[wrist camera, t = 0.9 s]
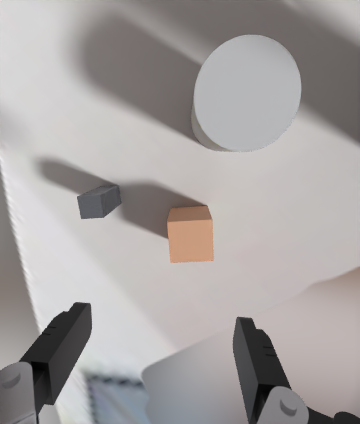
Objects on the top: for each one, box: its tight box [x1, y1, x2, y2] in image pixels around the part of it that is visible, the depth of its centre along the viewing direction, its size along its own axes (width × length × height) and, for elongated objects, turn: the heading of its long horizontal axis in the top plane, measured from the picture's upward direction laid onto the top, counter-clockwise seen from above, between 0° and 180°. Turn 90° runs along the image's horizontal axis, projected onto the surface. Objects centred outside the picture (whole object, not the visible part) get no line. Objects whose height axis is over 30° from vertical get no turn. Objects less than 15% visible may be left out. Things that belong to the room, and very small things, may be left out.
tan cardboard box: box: [167, 206, 214, 263], centre depth 29 cm, size 5×5×7 cm
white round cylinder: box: [191, 35, 301, 152], centre depth 23 cm, size 8×8×12 cm
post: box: [77, 186, 121, 219], centre depth 28 cm, size 3×3×7 cm
